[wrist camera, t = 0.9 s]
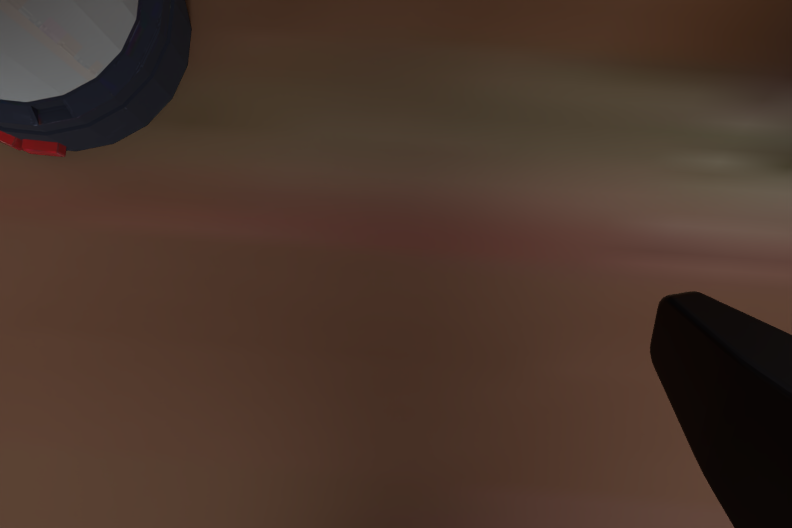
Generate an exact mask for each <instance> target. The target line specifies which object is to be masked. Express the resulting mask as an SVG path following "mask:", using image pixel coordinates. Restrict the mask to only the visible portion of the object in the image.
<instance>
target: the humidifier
mask: <svg viewBox="0 0 792 528" xmlns="http://www.w3.org/2000/svg"><path fill="white" fill-rule="evenodd" d="M190 38H191V25H190V21H189V16H188V12H187V7H186V2H185V0H0V142H1V143H4V144H6V145H8V146H11V147H13V148H15V149H18V150H24V151H26V152H28V153H30V154H39V155H49V156H60V157H64V156H65V155H66V150H69V151H80V150H85V149H89V148H94V147H99V146H104V145H109V144H114V143H116V142H118V141H119V140H121V139H123V138H125V137H127V136H128V135H130V134H132V133H134V132H136V131H137V130H139V129H141V128H143V127H145V126H147V125H148V124H149V123H150V121H151V120H152V119H153V118H154V117H155V116H156V115H157V114H158V113H159V112H160V111H161V110H162V109H163V108H164V107H165V106H166V104H167V103H168V102H169V101H170V100H171V99H172V98H173V96H174V94H175V91H176V89H177V87H178V85H179V83H180V81H181V78H182V76H183V74H184V72H185V70H186V68H187V65H188V57H189V48H190Z"/></svg>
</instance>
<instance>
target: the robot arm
mask: <svg viewBox="0 0 792 528" xmlns="http://www.w3.org/2000/svg"><path fill="white" fill-rule="evenodd" d="M650 354H651V359H652V363H653V365H654V368H655V370H656V372H657V374H658V377H659V379H660V381H661V383H662V385H663V388H664V390H665V392H666V394H667V396H668V399H669V401H670V403H671V405H672V407H673V410H674V412H675V414H676V416H677V418H678V421H679V423H680V425H681V427H682V430H683V432H684V434H685V436H686V438H687V441H688V443H689V445H690V447H691V449H692V452H693V454H694V456H695V458H696V460H697V462H698V464H699V466H700V468H701V470H702V472H703V474H704V476H705V478H706V480H707V481H708V483H709V485H710V487H711V488H712V490H713V492H714V494H715V495H716V497H717V499H718V501H719V502H720V504H721V506H722V507H723V509H724V511H725V512H726V514H727V516H728V517H729V519H730V521H731V523H732V524H733V526H734V528H792V335H791V334H788V333H786V332H784V331H782V330H780V329H778V328H775V327H773V326H771V325H769V324H767V323H765V322H762V321H760V320H758V319H756V318H754V317H752V316H750V315H747V314H745V313H743V312H741V311H739V310H737V309H734V308H732V307H730V306H728V305H726V304H724V303H722V302H719V301H717V300H715V299H713V298H711V297H709V296H706V295H704V294H702V293H699V292H685V293H679V294H673V295H668V296H665V297H663V298H662V299H661V301H660V302H659V305H658V309H657V314H656V319H655V324H654V329H653V334H652V339H651V344H650Z"/></svg>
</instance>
